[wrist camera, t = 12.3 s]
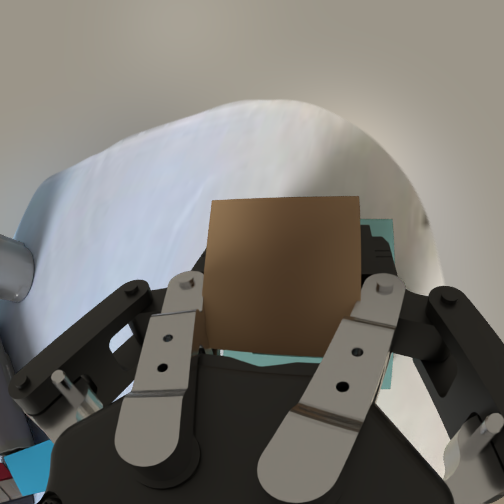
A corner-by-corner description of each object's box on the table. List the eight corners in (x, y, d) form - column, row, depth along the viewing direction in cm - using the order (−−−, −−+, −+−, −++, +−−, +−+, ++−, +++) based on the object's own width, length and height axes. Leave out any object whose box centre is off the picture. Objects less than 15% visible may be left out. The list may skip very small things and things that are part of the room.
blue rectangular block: (82, 431, 37) (17, 457, 34) (57, 436, 30) (-8, 460, 27) (103, 470, 34) (34, 491, 31) (81, 481, 28) (10, 498, 25)
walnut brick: (264, 341, 17) (197, 346, 9) (269, 261, 18) (212, 200, 10) (346, 344, 15) (357, 357, 7) (349, 261, 16) (358, 196, 8)
